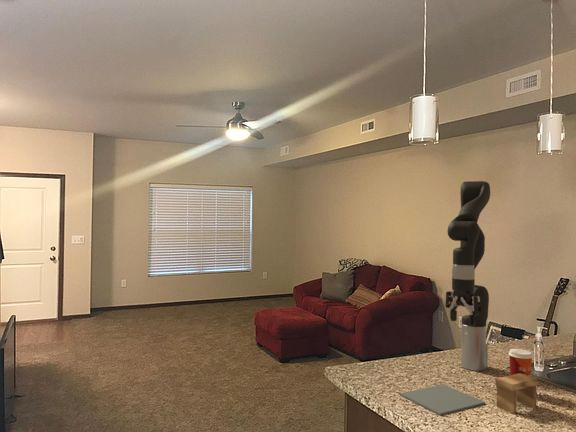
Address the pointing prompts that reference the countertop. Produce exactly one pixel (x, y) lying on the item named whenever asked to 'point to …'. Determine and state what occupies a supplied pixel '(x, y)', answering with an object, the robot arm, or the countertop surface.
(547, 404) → the countertop surface
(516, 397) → the tan wooden block
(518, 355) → the paper cup
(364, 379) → the countertop surface
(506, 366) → the countertop surface
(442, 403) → the mat
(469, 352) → the robot arm
